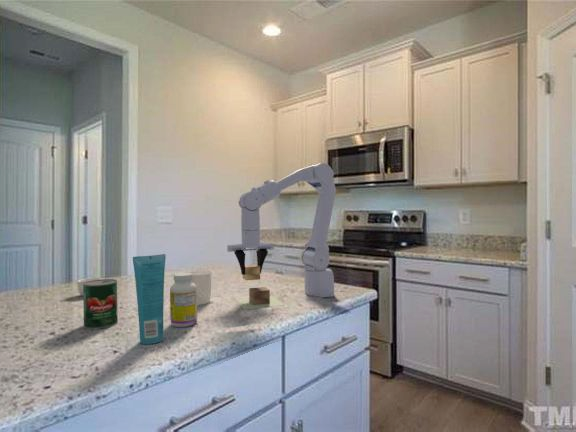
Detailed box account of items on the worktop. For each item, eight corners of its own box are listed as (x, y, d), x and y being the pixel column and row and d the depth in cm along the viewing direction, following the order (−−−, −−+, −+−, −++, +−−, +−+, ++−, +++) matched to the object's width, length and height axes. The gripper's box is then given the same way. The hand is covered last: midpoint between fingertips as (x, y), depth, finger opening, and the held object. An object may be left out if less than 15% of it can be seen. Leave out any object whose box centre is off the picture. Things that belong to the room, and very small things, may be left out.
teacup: (91, 298, 125) (91, 282, 125) (72, 297, 127) (71, 281, 127) (111, 291, 135) (111, 277, 135) (93, 291, 137) (93, 276, 137)
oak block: (256, 277, 119) (256, 264, 119) (260, 279, 115) (260, 266, 115) (242, 277, 118) (242, 265, 118) (245, 280, 114) (245, 267, 114)
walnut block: (264, 299, 116) (264, 286, 116) (269, 303, 111) (269, 290, 111) (249, 301, 114) (249, 288, 114) (253, 305, 110) (253, 291, 110)
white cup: (205, 309, 110) (205, 275, 110) (181, 307, 111) (180, 274, 111) (216, 302, 117) (215, 270, 117) (192, 301, 119) (192, 270, 119)
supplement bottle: (175, 320, 99) (174, 271, 99) (200, 320, 99) (199, 271, 98) (166, 328, 92) (165, 276, 92) (193, 328, 92) (192, 276, 92)
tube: (160, 334, 88) (159, 252, 87) (172, 338, 84) (170, 254, 84) (130, 343, 82) (128, 256, 82) (141, 348, 79) (139, 257, 78)
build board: (272, 299, 121) (272, 296, 121) (284, 308, 109) (284, 304, 109) (235, 302, 116) (235, 299, 116) (244, 312, 105) (244, 309, 105)
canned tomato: (94, 331, 90) (94, 286, 90) (77, 326, 95) (76, 283, 94) (124, 322, 97) (123, 280, 97) (106, 318, 101) (105, 278, 101)
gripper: (269, 228, 122) (269, 270, 123) (225, 230, 117) (225, 273, 118) (275, 229, 116) (276, 273, 116) (229, 231, 111) (230, 276, 111)
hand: (251, 273), depth 116 cm, fingers closed on oak block, 4 cm apart
